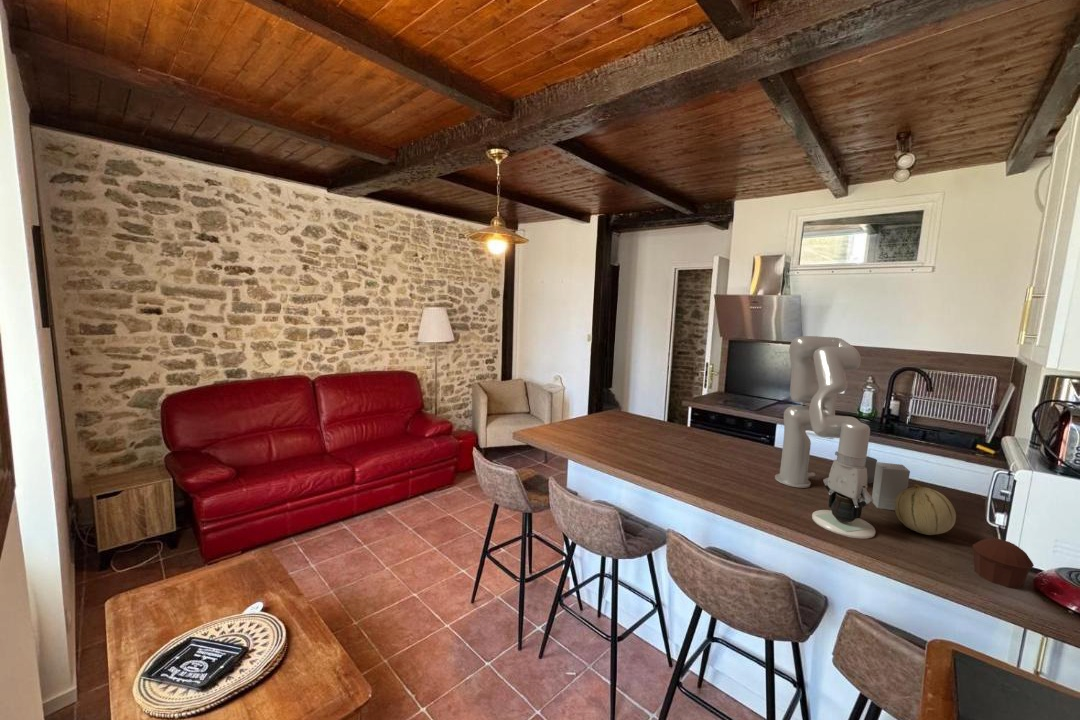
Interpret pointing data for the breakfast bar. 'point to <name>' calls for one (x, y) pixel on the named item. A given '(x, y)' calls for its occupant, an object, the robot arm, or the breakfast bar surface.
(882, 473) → the skincare box
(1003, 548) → the muffin
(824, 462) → the breakfast bar surface
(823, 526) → the stand
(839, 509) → the mate gourd
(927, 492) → the cantaloupe
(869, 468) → the cup
